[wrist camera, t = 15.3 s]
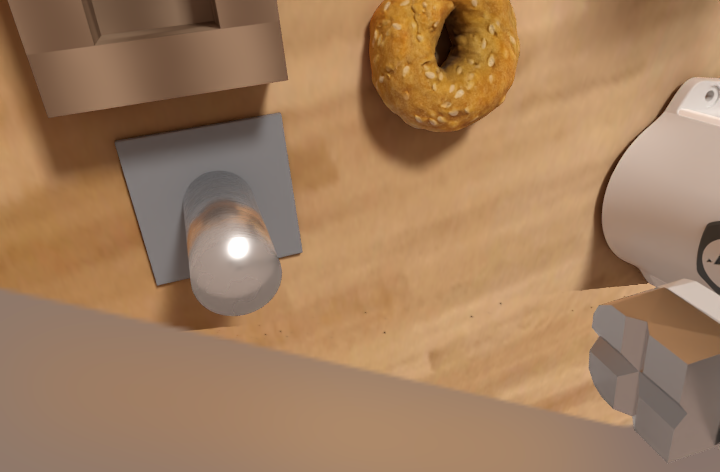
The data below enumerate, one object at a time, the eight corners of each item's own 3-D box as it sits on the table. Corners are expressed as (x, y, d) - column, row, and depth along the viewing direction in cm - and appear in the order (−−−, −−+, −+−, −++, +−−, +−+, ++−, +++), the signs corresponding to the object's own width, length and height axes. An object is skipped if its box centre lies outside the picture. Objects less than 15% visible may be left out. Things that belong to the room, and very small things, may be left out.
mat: (279, 112, 37) (281, 114, 36) (301, 249, 41) (302, 252, 41) (114, 140, 35) (114, 142, 34) (157, 282, 39) (157, 285, 39)
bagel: (530, -15, 38) (575, -10, 34) (460, 139, 42) (493, 160, 38) (403, -83, 34) (437, -87, 30) (336, 94, 38) (358, 112, 34)
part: (247, 164, 37) (274, 228, 29) (259, 226, 39) (287, 303, 31) (175, 178, 36) (181, 248, 28) (191, 241, 38) (201, 325, 30)
